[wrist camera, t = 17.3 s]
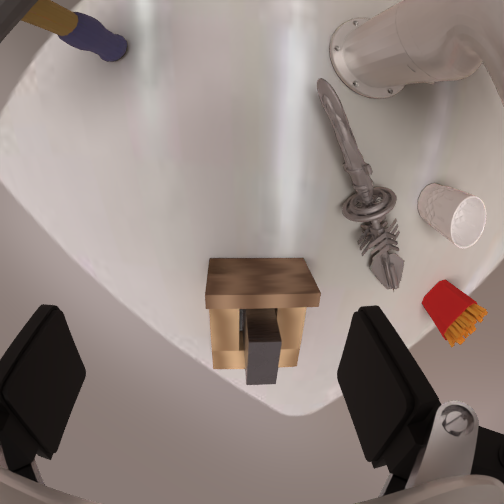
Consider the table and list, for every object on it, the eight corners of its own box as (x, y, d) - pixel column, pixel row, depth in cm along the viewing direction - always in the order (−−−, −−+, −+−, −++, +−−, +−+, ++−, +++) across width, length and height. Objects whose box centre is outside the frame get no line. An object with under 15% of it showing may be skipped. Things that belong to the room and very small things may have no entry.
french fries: (424, 314, 53) (456, 354, 41) (416, 303, 51) (450, 345, 39) (454, 282, 50) (492, 318, 38) (448, 271, 49) (487, 307, 37)
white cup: (417, 230, 45) (451, 256, 36) (411, 186, 41) (449, 205, 32) (450, 216, 44) (486, 238, 35) (446, 174, 41) (485, 189, 32)
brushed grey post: (269, 286, 47) (281, 341, 35) (265, 326, 50) (275, 383, 38) (243, 286, 47) (248, 342, 35) (242, 327, 50) (246, 384, 38)
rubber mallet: (96, 97, 33) (-84, 98, 6) (72, 64, 30) (-95, 40, 3) (167, 39, 31) (58, -83, 3) (140, 7, 28) (27, -107, 1)
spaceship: (363, 64, 27) (317, 84, 25) (423, 281, 44) (395, 314, 42) (320, 74, 34) (276, 96, 32) (389, 266, 51) (362, 295, 49)
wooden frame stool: (303, 258, 45) (320, 293, 36) (291, 347, 53) (302, 387, 43) (209, 258, 44) (205, 295, 35) (214, 349, 52) (212, 391, 42)
